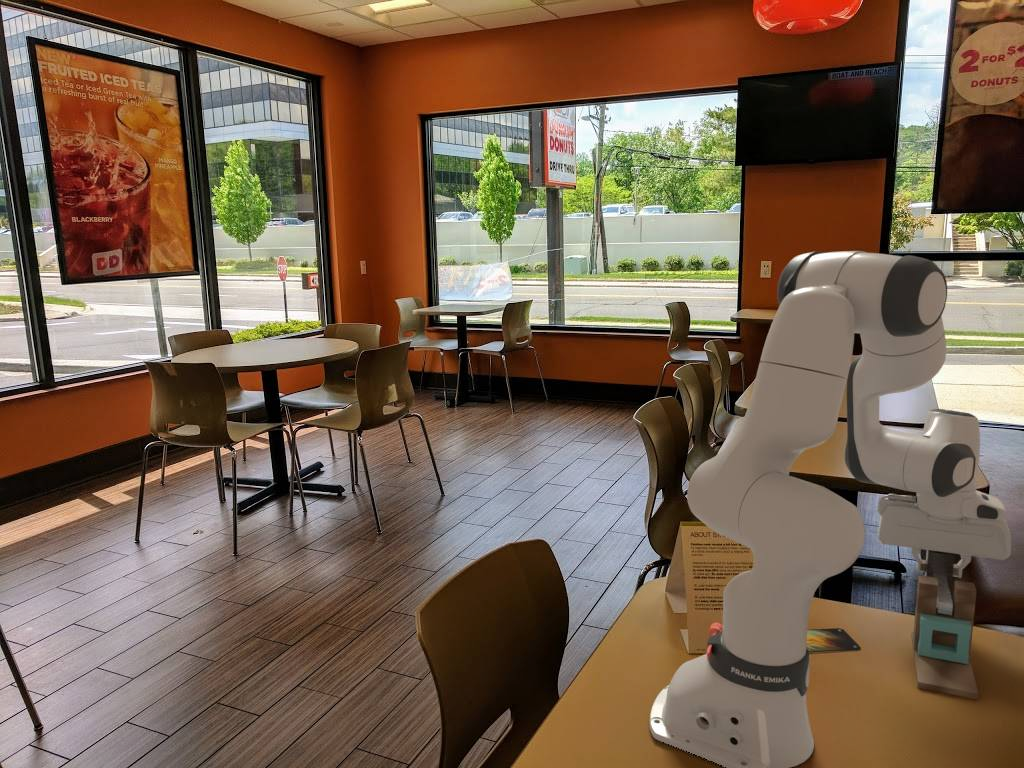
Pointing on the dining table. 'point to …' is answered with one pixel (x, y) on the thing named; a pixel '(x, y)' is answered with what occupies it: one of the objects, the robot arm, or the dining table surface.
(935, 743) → the dining table surface
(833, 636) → the smartphone
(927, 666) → the stand
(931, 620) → the spacer
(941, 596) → the shaft
